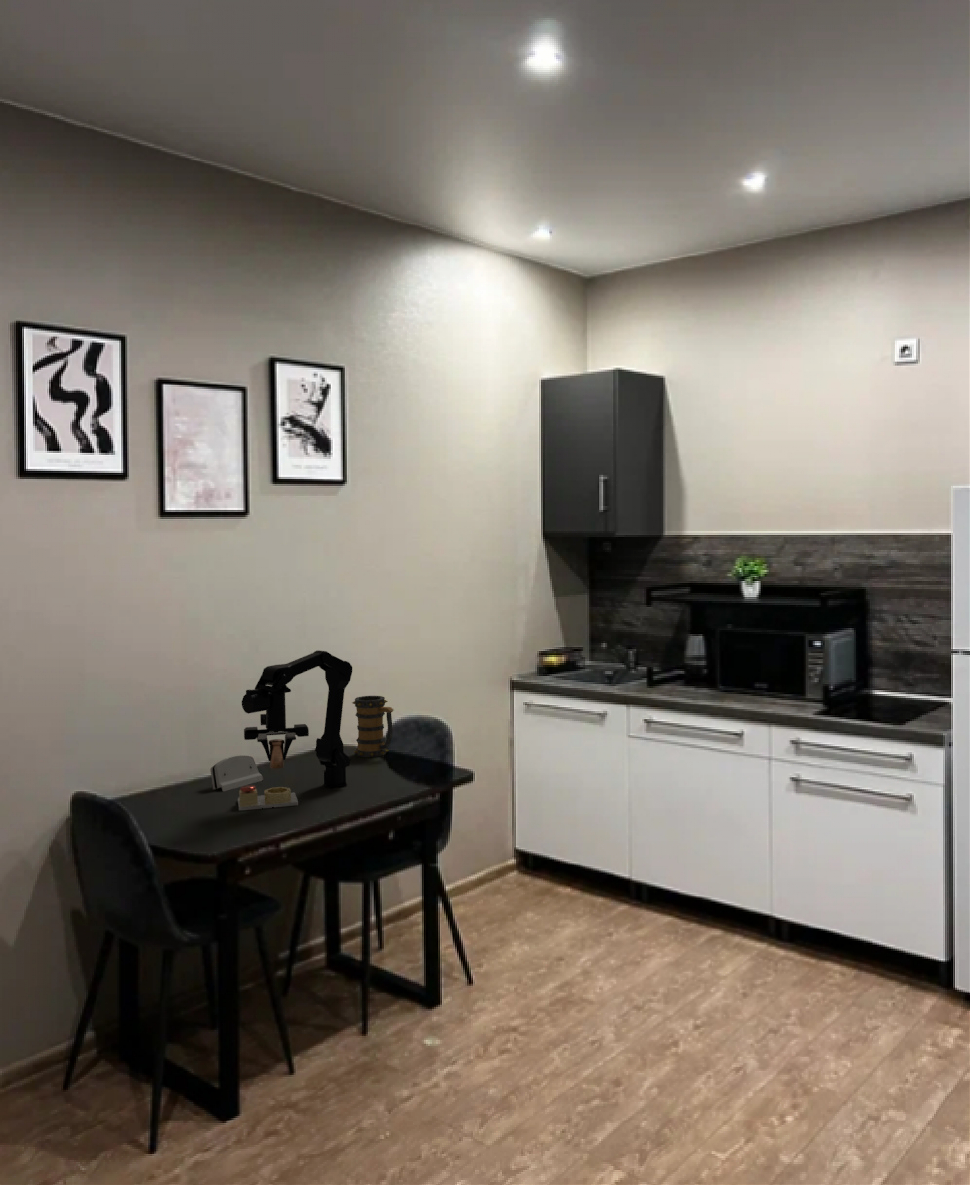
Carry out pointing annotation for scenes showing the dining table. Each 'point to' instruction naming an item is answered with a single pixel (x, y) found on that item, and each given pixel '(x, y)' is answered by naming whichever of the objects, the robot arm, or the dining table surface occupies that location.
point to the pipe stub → (276, 753)
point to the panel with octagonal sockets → (265, 798)
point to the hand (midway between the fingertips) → (276, 760)
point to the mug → (372, 726)
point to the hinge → (235, 773)
